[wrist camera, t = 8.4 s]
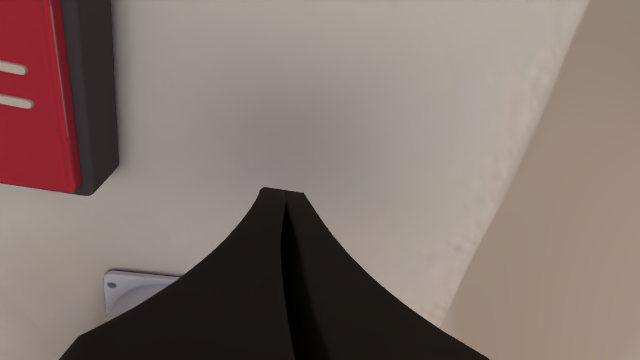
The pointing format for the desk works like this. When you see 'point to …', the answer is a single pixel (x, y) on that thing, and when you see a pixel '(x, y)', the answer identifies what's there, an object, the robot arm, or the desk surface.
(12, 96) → the calculator
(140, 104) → the desk surface
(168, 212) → the desk surface
